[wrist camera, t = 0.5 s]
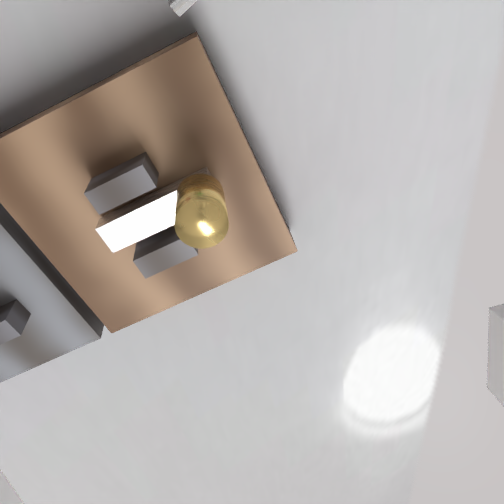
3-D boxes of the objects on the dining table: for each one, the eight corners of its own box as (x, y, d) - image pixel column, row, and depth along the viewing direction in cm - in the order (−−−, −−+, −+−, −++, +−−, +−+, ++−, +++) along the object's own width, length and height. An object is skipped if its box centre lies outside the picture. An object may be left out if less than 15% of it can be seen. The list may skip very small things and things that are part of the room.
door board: (196, 31, 28) (197, 40, 23) (290, 232, 36) (304, 268, 31) (-151, 212, 31) (-210, 252, 27) (7, 358, 39) (-17, 408, 35)
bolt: (210, 156, 29) (213, 191, 24) (230, 195, 30) (237, 235, 25) (95, 211, 30) (76, 255, 25) (120, 246, 31) (107, 294, 26)
